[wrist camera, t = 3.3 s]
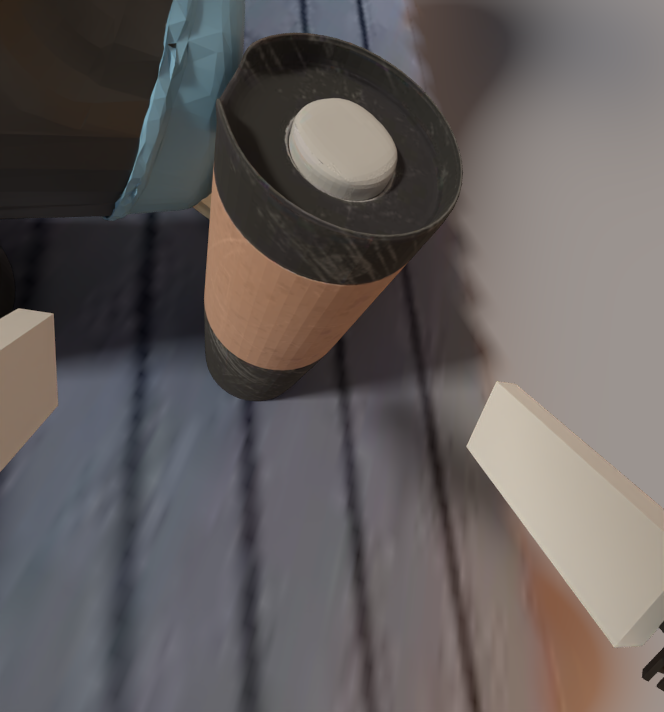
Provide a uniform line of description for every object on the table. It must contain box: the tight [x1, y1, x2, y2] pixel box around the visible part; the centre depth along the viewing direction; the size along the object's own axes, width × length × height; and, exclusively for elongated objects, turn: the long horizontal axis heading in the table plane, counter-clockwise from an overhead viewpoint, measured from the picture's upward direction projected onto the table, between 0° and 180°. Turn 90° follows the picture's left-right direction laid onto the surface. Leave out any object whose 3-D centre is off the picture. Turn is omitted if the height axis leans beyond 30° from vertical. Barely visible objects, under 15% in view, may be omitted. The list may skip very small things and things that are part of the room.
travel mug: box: [204, 33, 463, 401], centre depth 20 cm, size 8×8×20 cm
